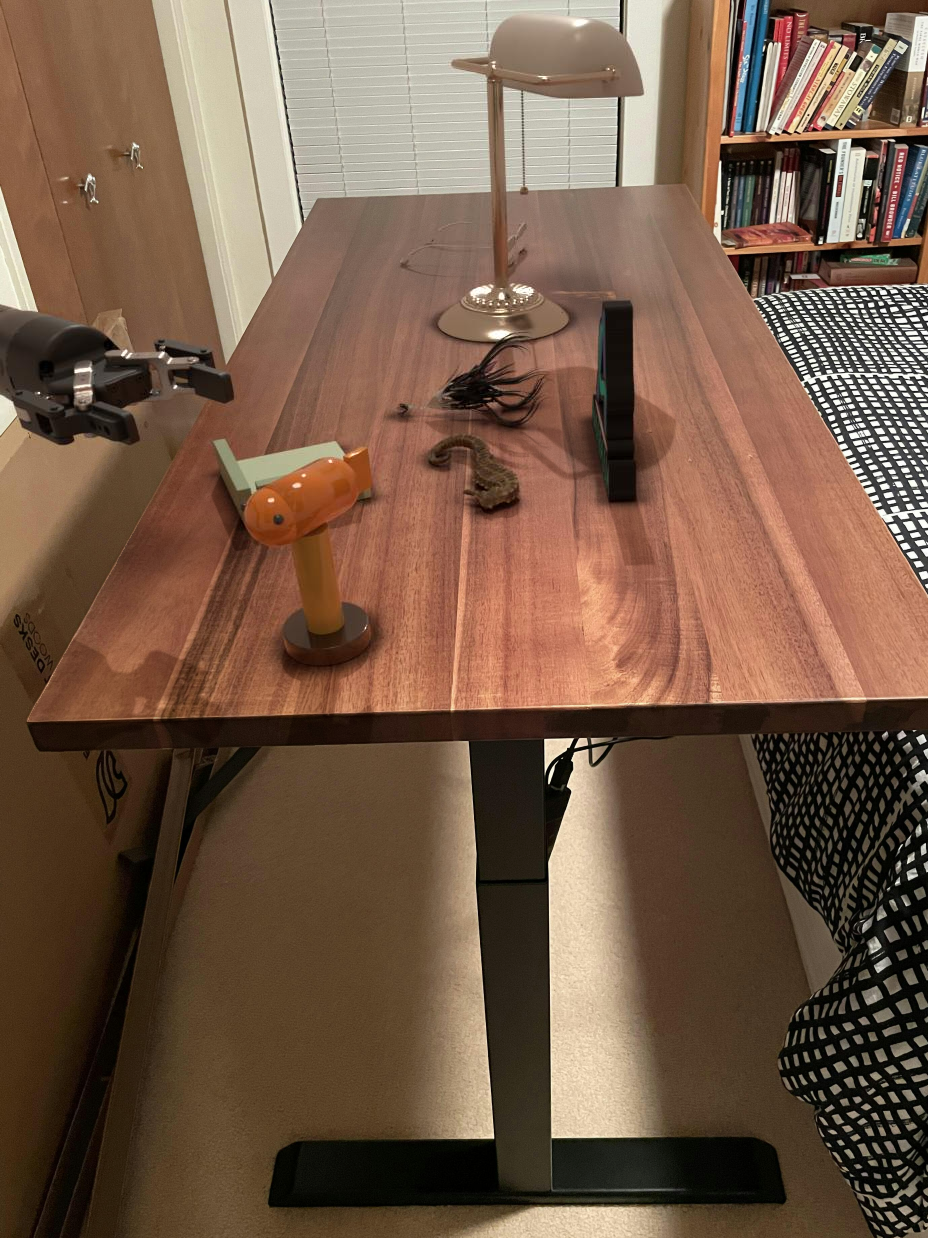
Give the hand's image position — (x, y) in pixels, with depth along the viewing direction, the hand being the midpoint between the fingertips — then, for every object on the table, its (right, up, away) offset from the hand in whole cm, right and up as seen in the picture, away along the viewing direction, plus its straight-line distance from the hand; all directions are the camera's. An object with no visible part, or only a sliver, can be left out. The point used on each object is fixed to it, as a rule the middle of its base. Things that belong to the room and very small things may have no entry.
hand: (182, 408), depth 69 cm
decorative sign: (+33, +3, +28) cm, 43 cm away
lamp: (+25, +30, +64) cm, 75 cm away
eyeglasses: (+16, +50, +90) cm, 104 cm away
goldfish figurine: (+10, -16, +4) cm, 19 cm away
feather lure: (+20, +9, +37) cm, 43 cm away
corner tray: (+2, 0, +25) cm, 25 cm away
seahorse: (+20, 0, +25) cm, 32 cm away
